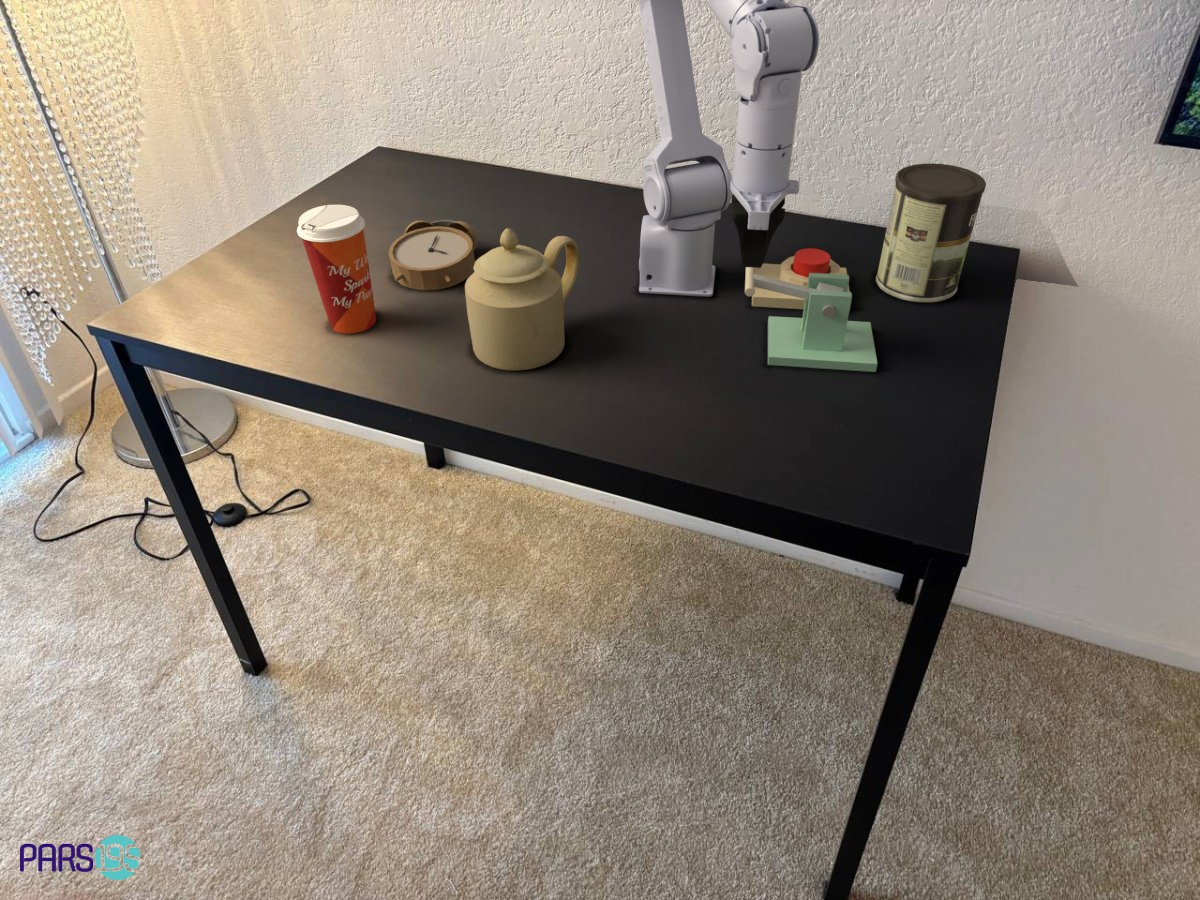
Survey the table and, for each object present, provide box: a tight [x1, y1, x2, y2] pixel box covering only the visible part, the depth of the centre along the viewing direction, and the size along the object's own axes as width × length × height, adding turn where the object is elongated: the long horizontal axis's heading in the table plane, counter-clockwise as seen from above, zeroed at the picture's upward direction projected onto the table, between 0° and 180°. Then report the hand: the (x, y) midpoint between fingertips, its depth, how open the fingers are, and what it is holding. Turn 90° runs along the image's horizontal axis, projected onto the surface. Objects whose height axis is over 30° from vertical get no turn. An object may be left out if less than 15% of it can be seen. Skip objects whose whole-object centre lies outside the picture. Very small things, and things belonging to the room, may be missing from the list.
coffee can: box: [875, 162, 987, 304], centre depth 108 cm, size 10×10×14 cm
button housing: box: [751, 255, 852, 312], centre depth 110 cm, size 12×9×4 cm
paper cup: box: [296, 204, 377, 335], centre depth 103 cm, size 8×8×14 cm
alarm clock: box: [388, 219, 478, 291], centre depth 118 cm, size 11×5×15 cm
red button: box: [793, 247, 831, 277], centre depth 108 cm, size 4×4×2 cm
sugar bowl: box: [464, 227, 581, 372], centre depth 99 cm, size 15×11×15 cm
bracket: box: [767, 273, 878, 373], centre depth 98 cm, size 12×9×8 cm
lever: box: [744, 267, 843, 300], centre depth 97 cm, size 11×6×2 cm, turn 82°
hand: (751, 262), depth 95 cm, fingers closed
